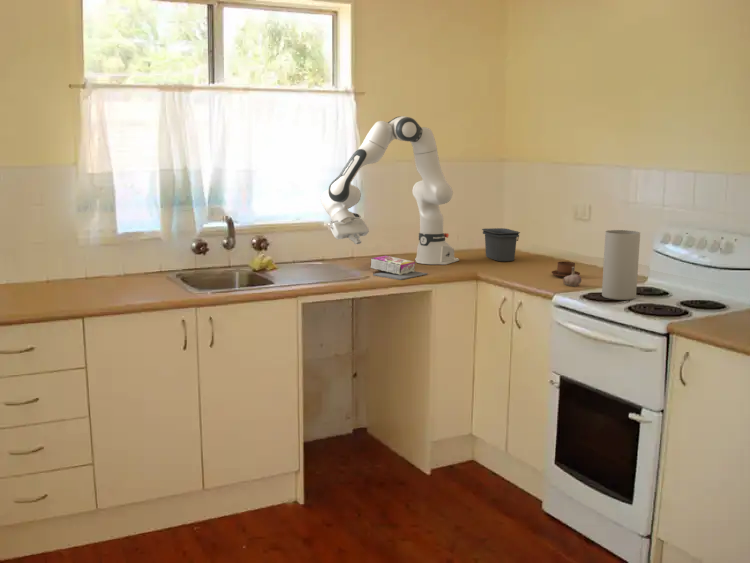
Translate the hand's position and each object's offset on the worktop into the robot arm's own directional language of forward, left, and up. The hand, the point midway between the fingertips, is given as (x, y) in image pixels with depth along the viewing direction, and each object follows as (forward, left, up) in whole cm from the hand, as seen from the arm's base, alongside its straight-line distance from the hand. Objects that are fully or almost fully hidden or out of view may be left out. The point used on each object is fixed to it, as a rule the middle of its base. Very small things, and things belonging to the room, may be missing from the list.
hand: (358, 243), depth 369 cm
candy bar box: (0, +11, -7) cm, 13 cm away
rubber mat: (0, +25, -11) cm, 28 cm away
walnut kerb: (0, +16, -11) cm, 20 cm away
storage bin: (-69, +31, -12) cm, 77 cm away
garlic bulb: (-31, +91, -12) cm, 97 cm away
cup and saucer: (-48, +79, -12) cm, 93 cm away
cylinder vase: (-22, +116, -12) cm, 119 cm away
